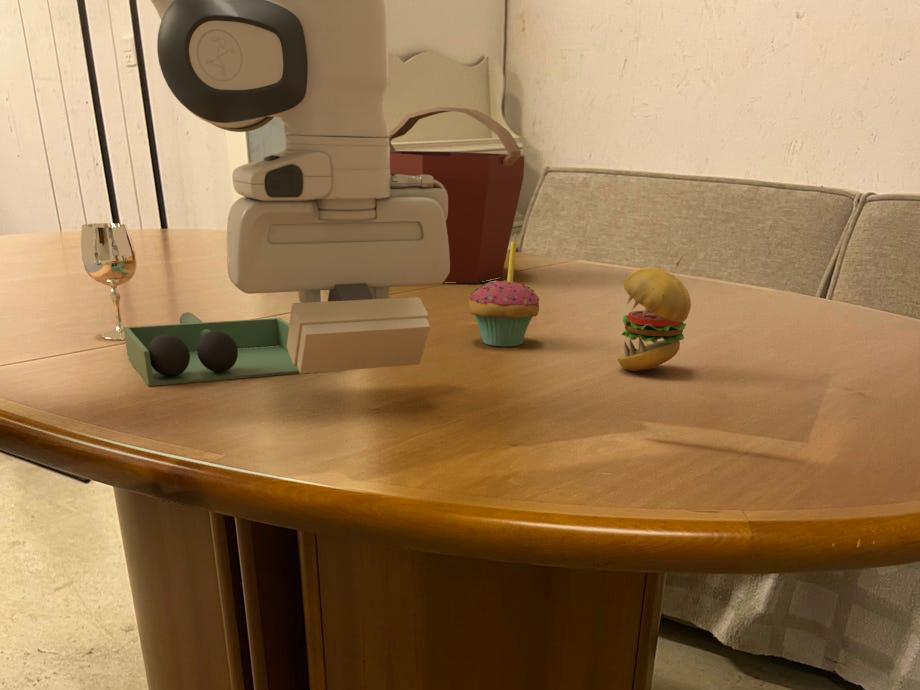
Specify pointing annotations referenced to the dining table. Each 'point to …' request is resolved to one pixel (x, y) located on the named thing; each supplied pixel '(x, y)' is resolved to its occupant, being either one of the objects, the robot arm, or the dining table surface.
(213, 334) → the ball
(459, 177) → the bucket
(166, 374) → the ball
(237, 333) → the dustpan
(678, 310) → the hamburger
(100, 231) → the wineglass
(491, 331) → the cupcake
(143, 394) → the dining table surface
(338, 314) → the brush
